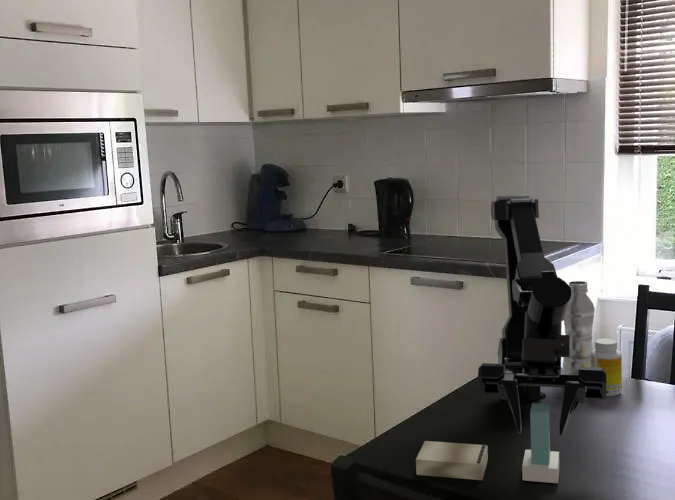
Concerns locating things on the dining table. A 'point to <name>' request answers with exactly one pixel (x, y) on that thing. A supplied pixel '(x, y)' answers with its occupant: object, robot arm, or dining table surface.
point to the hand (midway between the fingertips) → (540, 433)
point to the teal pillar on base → (540, 448)
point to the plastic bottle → (579, 328)
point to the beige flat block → (452, 460)
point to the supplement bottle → (608, 364)
